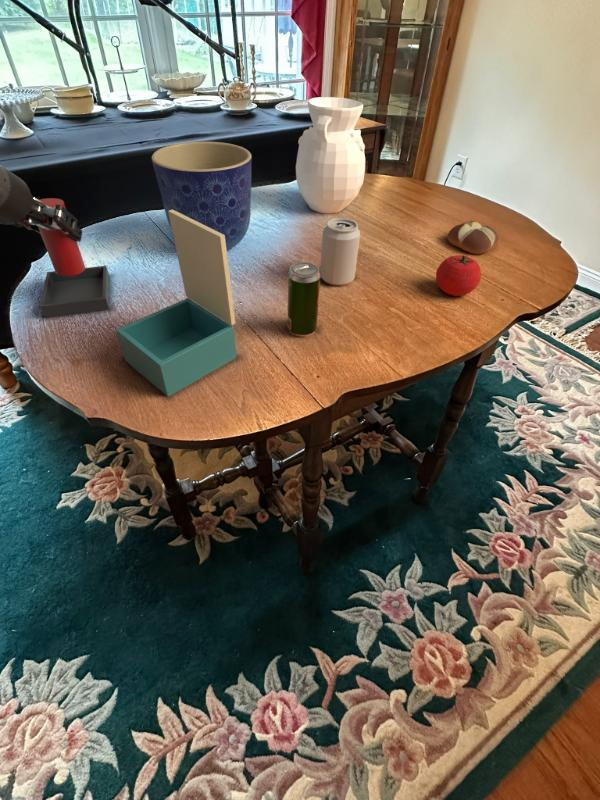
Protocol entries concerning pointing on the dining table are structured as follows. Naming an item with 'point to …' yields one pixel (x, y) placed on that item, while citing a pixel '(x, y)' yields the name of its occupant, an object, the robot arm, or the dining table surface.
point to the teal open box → (177, 345)
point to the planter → (207, 185)
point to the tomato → (458, 275)
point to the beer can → (303, 298)
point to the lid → (203, 265)
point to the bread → (473, 237)
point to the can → (339, 251)
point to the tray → (76, 293)
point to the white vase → (331, 155)
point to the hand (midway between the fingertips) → (64, 234)
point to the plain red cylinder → (61, 247)
